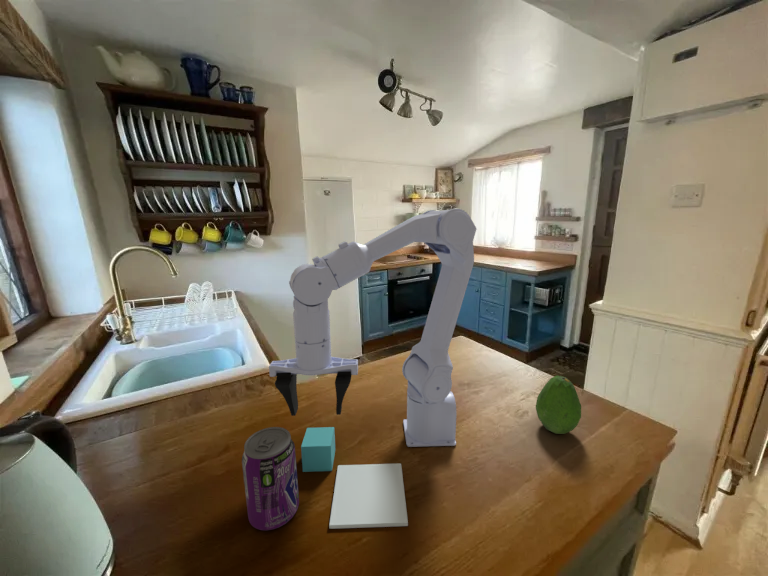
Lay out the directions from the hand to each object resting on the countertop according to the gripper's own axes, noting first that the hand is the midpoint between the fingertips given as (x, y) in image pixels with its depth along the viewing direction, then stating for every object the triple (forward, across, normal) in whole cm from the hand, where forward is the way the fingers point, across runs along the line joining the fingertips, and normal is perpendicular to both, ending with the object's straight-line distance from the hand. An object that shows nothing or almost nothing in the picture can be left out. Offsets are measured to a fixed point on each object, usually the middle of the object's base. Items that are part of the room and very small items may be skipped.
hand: (317, 411), depth 54 cm
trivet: (+10, -9, +8) cm, 15 cm away
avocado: (+10, -47, -6) cm, 48 cm away
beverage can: (+10, +5, +10) cm, 15 cm away
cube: (+10, 0, 0) cm, 10 cm away
